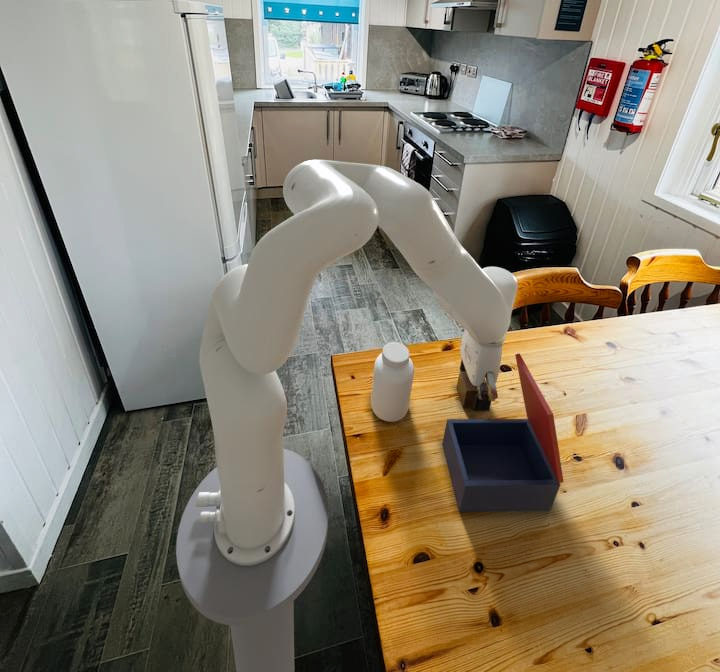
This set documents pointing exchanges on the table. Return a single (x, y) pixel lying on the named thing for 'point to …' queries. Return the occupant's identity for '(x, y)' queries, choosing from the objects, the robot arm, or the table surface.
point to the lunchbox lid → (540, 417)
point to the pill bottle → (392, 382)
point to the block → (467, 390)
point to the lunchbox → (498, 466)
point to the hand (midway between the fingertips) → (473, 389)
